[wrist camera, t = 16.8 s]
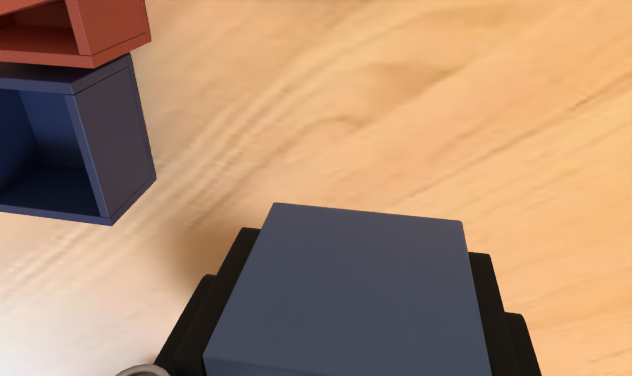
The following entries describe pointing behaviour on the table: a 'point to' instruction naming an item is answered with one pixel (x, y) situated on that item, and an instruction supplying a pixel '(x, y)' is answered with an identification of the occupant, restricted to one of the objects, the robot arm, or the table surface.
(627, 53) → the table surface
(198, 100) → the table surface
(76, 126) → the blue bin
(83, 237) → the table surface
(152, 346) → the table surface
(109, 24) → the red bin
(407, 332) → the blue block
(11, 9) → the red block
